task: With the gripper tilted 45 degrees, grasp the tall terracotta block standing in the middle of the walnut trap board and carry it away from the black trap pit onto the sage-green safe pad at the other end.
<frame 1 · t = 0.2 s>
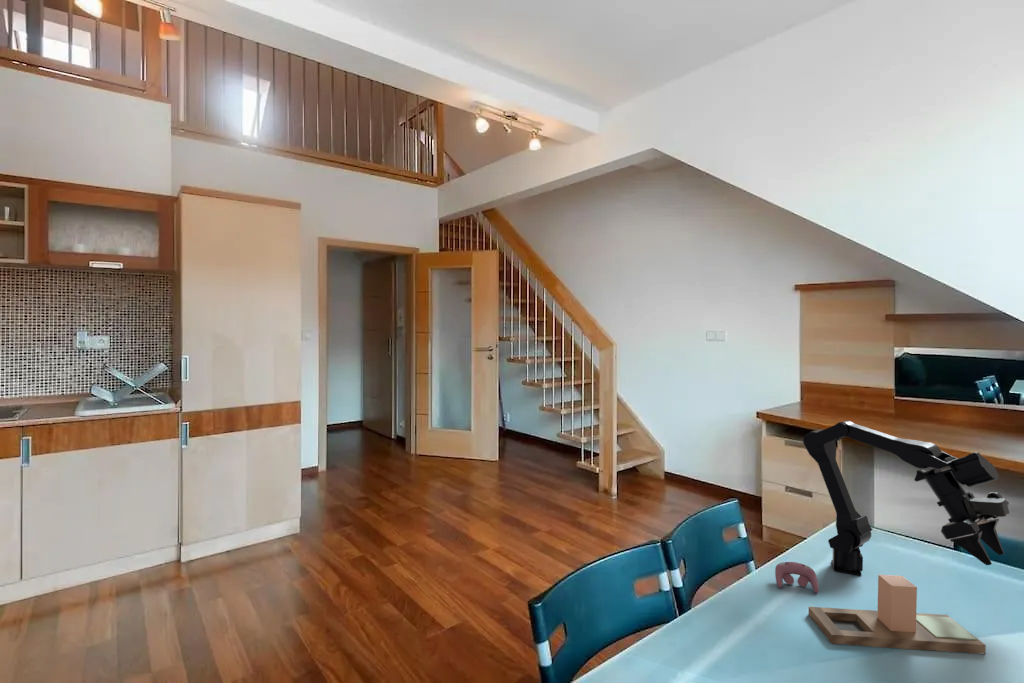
hand: (995, 559, 116), 15 cm above the table, tool tilted 35°, fingers open, 9 cm apart
video game controller: (796, 587, 133), on the table
block: (896, 624, 113), point 2 cm above the table, touching trap board
trap board: (896, 633, 113), on the table
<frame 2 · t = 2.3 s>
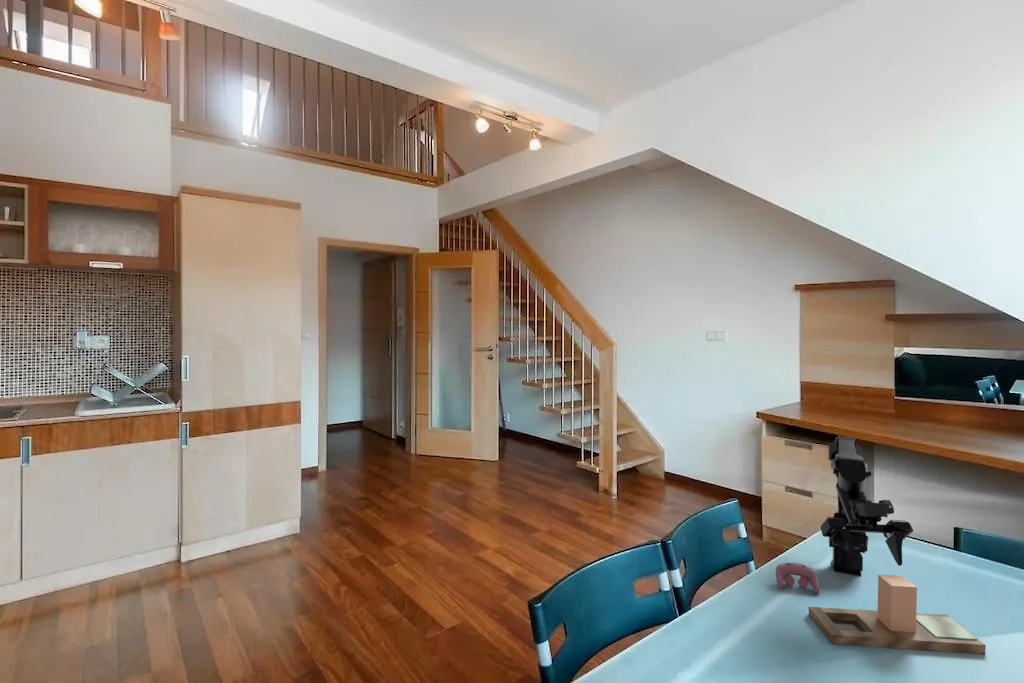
hand: (879, 564, 119), 13 cm above the table, tool tilted 45°, fingers open, 9 cm apart
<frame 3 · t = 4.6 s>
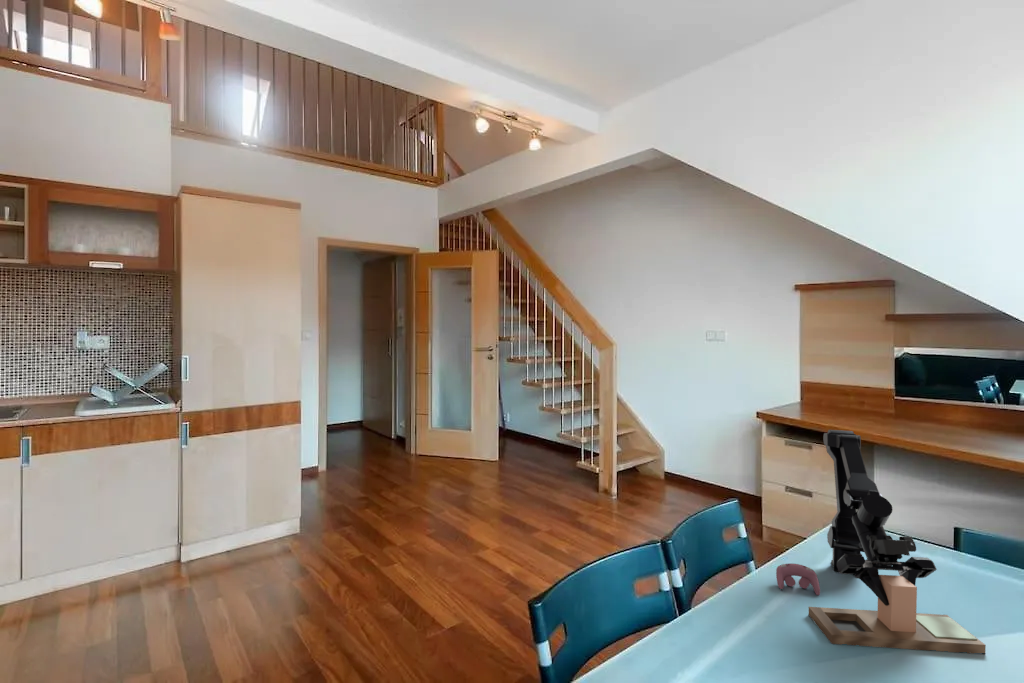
hand: (900, 605, 111), 7 cm above the table, tool tilted 45°, fingers closed on block, 5 cm apart
block: (896, 624, 113), point 2 cm above the table, touching gripper, trap board
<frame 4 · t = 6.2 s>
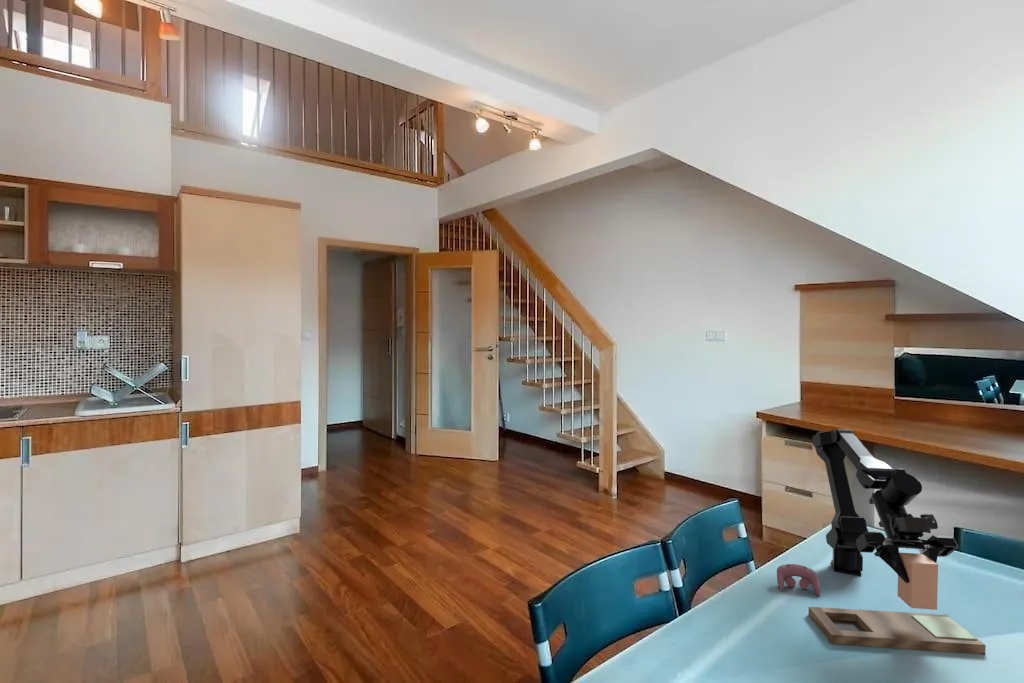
hand: (921, 583, 111), 12 cm above the table, tool tilted 45°, fingers closed on block, 5 cm apart
block: (916, 602, 112), point 7 cm above the table, touching gripper
when the fingers open (8 cm above the table, at t = 7.9 s): block stays where it is, resting on trap board.
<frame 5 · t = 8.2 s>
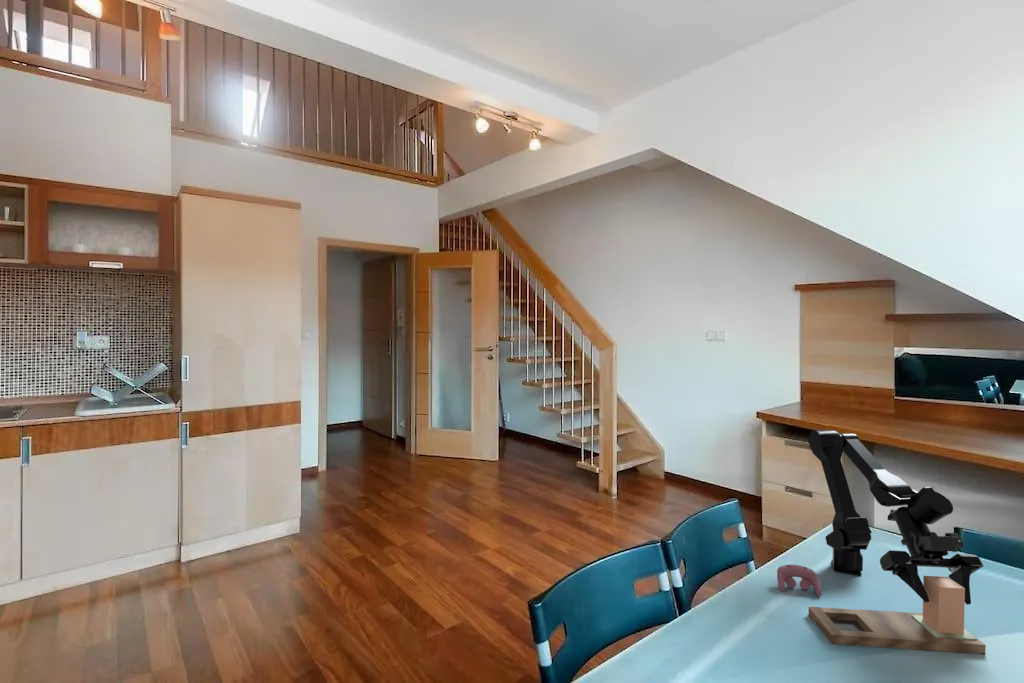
hand: (948, 603, 110), 8 cm above the table, tool tilted 45°, fingers open, 8 cm apart
block: (942, 626, 112), point 2 cm above the table, touching trap board
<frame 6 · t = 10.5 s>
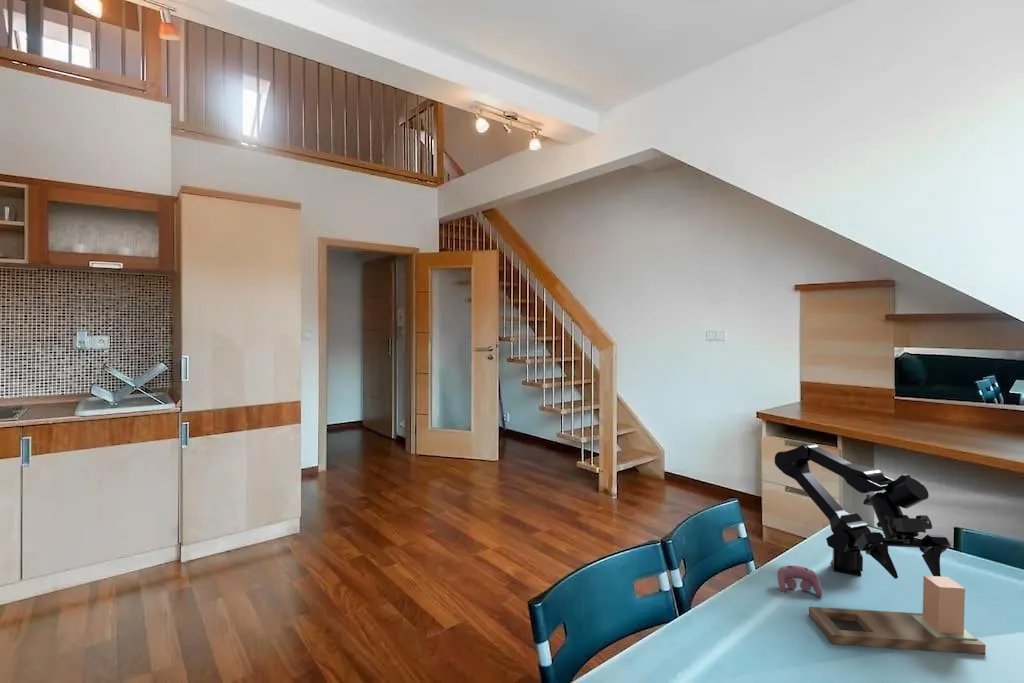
hand: (917, 579, 120), 9 cm above the table, tool tilted 45°, fingers open, 9 cm apart
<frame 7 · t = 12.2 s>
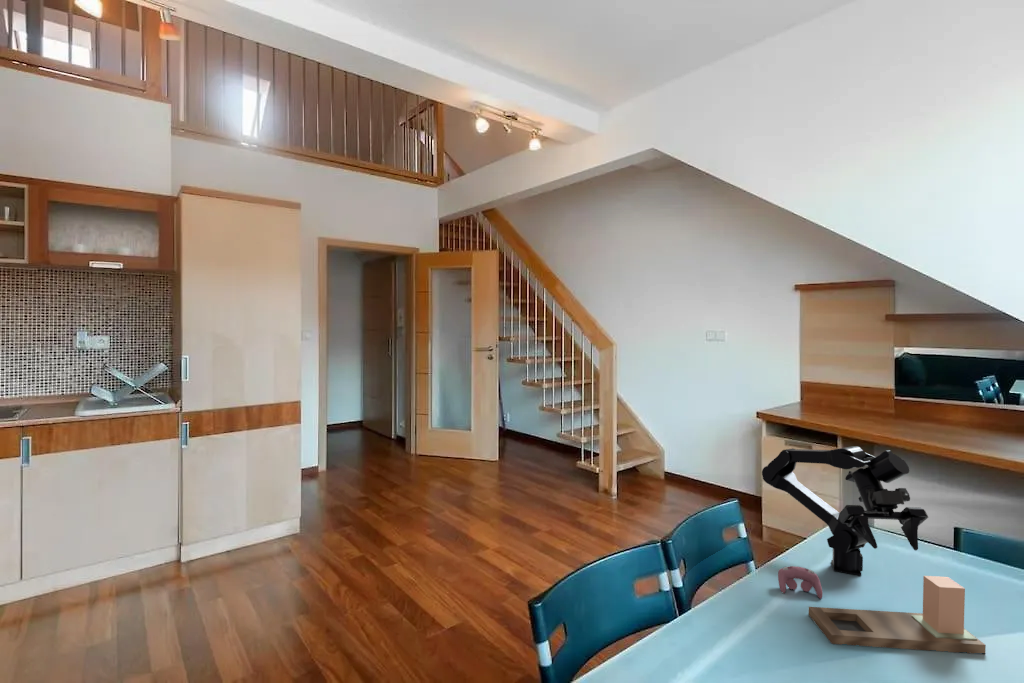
hand: (896, 548, 125), 14 cm above the table, tool tilted 45°, fingers open, 9 cm apart
at the end: block 0.1 cm from the target spot on the trap board, point 2.3 cm above the trap board's base; block tilted 0°; the gripper is holding nothing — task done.
